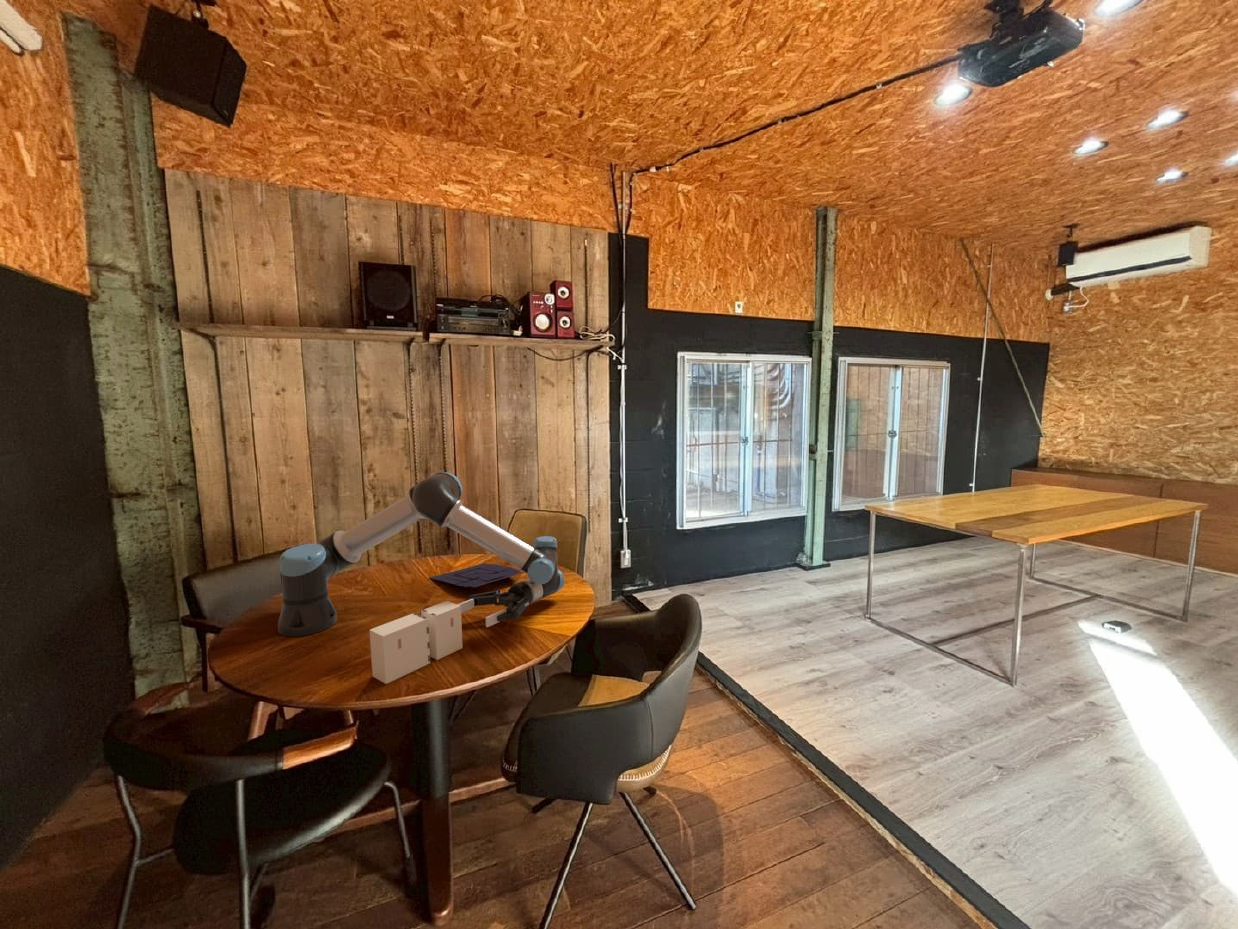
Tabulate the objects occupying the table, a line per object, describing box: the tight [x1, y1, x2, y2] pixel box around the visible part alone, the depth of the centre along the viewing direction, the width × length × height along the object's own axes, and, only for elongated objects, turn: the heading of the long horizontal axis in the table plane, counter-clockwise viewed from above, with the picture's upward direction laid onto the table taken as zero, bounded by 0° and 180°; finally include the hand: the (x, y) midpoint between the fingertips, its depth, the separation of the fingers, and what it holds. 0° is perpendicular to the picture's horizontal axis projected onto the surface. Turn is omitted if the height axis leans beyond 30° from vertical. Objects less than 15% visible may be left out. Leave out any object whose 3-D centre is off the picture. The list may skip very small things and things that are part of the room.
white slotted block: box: [369, 612, 431, 685], centre depth 128 cm, size 6×12×12 cm, turn 144°
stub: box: [420, 600, 464, 661], centre depth 138 cm, size 6×8×12 cm
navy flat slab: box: [429, 562, 525, 588], centre depth 192 cm, size 24×30×4 cm
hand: (470, 616), depth 145 cm, fingers open, 13 cm apart
